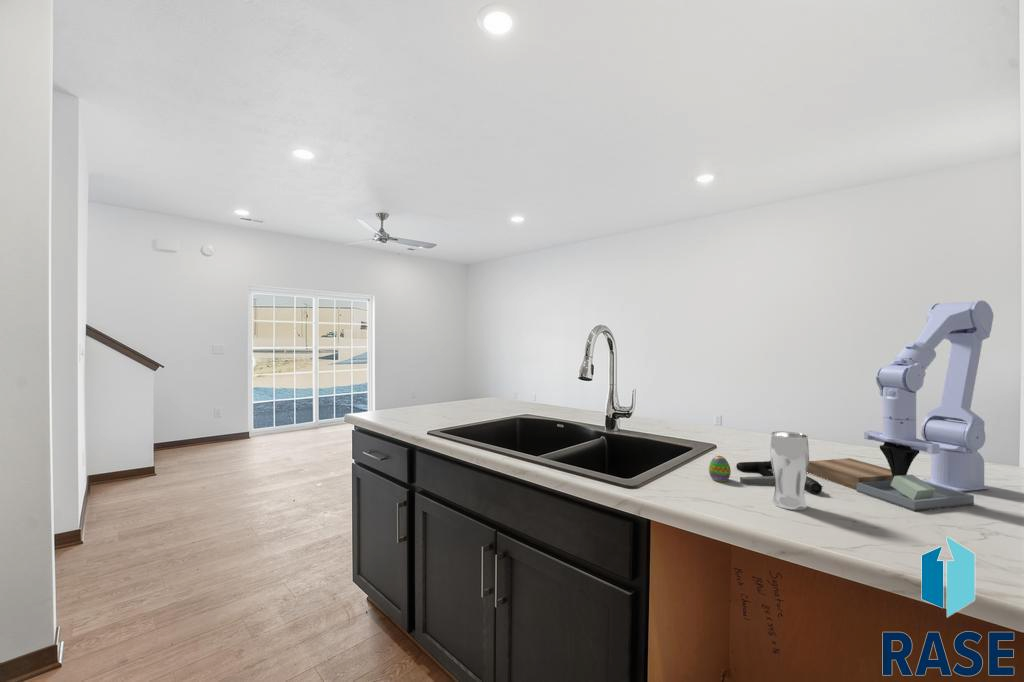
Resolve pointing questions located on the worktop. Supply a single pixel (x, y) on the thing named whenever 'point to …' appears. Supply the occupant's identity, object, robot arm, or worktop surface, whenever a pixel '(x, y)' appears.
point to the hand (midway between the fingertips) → (899, 477)
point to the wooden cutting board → (849, 471)
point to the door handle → (770, 476)
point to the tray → (939, 500)
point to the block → (913, 487)
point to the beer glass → (789, 468)
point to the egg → (719, 469)
